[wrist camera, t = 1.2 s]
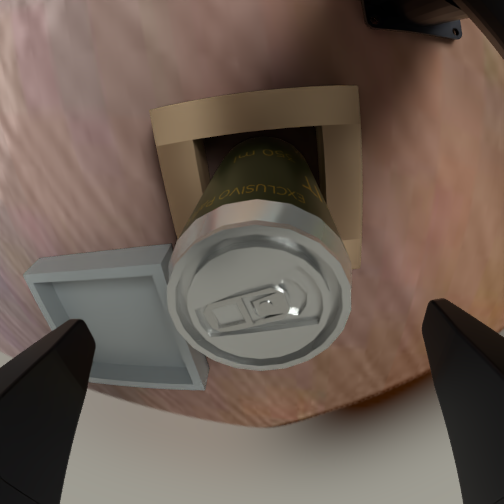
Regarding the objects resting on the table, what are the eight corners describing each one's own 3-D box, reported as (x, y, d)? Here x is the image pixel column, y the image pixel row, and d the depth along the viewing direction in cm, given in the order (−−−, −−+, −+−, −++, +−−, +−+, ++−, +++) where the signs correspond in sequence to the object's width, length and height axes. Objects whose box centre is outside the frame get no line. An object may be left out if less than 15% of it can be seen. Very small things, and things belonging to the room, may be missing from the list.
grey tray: (171, 243, 21) (160, 263, 19) (209, 367, 27) (205, 390, 25) (39, 258, 22) (22, 274, 20) (93, 362, 29) (84, 381, 26)
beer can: (238, 230, 20) (209, 386, 10) (206, 152, 18) (121, 254, 8) (320, 205, 19) (371, 351, 9) (293, 121, 17) (335, 184, 6)
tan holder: (346, 85, 16) (358, 85, 13) (351, 248, 21) (360, 268, 18) (163, 106, 17) (149, 110, 15) (196, 261, 22) (188, 282, 20)
